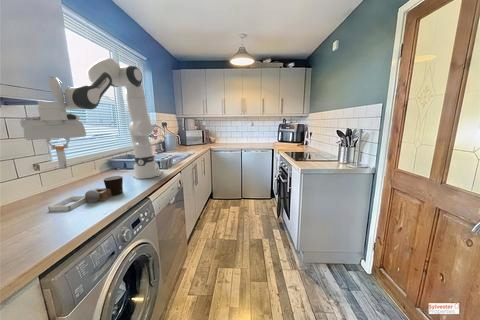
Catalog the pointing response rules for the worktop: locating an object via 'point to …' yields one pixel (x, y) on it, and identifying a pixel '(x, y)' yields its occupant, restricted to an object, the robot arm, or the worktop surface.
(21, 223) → the worktop surface
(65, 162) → the lock pin
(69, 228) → the worktop surface
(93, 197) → the tensioner block
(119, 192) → the coffee mug
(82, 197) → the parts tray
